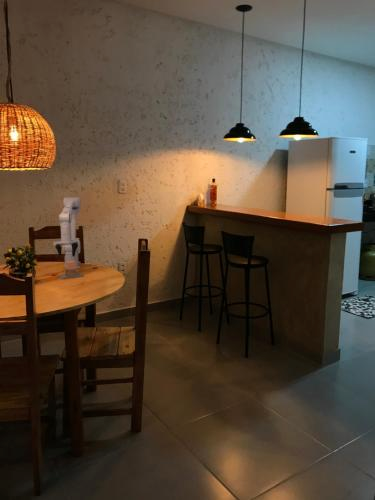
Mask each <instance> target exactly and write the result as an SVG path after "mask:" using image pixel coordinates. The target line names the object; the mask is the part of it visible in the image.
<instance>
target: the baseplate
mask: <svg viewBox="0 0 375 500" xmlns="http://www.w3.org/2000/svg"><path fill="white" fill-rule="evenodd" d="M58 277H59V278H60V279H61V280H67V279H75V278H83V277H84V274H82V273H81V272H76V276H70V277H68V276H67V275H66V273H65V274H58Z"/></svg>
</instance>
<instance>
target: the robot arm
mask: <svg viewBox="0 0 375 500" xmlns="http://www.w3.org/2000/svg"><path fill="white" fill-rule="evenodd" d="M62 199H63V201H62V204H63V208H62V211H61V213H59V214H58V220H59V221H58V222H59V226H60V240H59V241H53V244H52V245H53V246H54V247H55V249H56V251H57V253H58V258H60V259H62V257H63V256H62V254H65V255H64V262H65V261H75V262H76V269H82V268H81V266H79V254H81V253H80V252H81V241H80V240H79V239H77V217H78V213H80V212H81V206H82V205H81V198H80V197H69V196H68V197H66V196H64V198H62ZM62 252H63V253H62ZM63 267H64V268H65V265H63Z"/></svg>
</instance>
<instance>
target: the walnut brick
mask: <svg viewBox="0 0 375 500" xmlns="http://www.w3.org/2000/svg"><path fill="white" fill-rule="evenodd" d="M64 268H65V267H64ZM76 273H77V268H76V269H71V270H68V269H66V268H65V274H66V275H67V276H68V277H70V276H76Z"/></svg>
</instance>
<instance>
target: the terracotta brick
mask: <svg viewBox="0 0 375 500" xmlns="http://www.w3.org/2000/svg"><path fill="white" fill-rule="evenodd" d="M64 266H65V267H64V268H66V269H68V270H71V269H76V270H77V268H76V262H75V261H65V260H64Z"/></svg>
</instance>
